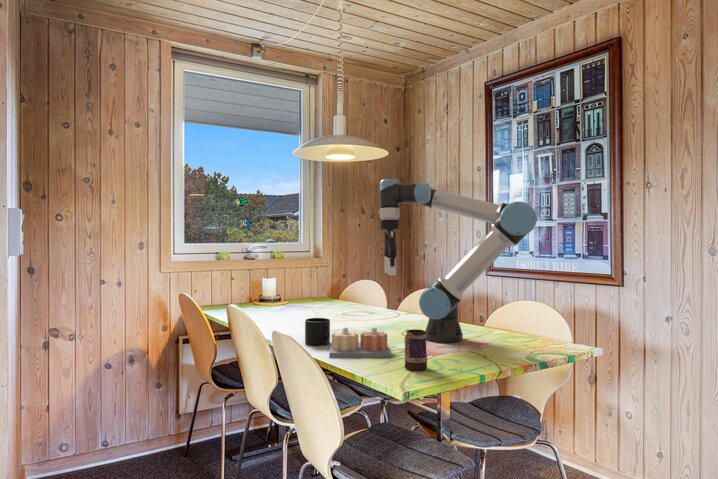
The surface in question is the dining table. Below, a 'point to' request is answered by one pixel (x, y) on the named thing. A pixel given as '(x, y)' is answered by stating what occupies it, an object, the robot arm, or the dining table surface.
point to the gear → (373, 341)
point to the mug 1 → (317, 331)
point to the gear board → (359, 353)
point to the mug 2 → (415, 350)
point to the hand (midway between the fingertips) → (390, 274)
